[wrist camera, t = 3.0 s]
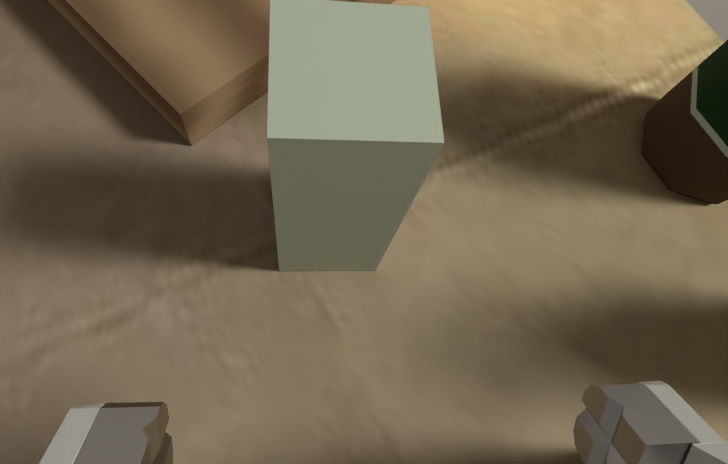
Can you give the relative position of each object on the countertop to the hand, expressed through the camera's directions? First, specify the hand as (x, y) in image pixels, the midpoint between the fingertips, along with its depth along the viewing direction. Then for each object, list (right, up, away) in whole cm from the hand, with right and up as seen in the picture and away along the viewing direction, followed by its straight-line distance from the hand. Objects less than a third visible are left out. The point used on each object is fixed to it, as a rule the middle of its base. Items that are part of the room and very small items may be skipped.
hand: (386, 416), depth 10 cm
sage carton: (-2, +4, +17) cm, 18 cm away
